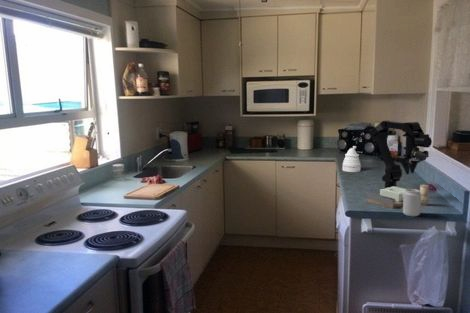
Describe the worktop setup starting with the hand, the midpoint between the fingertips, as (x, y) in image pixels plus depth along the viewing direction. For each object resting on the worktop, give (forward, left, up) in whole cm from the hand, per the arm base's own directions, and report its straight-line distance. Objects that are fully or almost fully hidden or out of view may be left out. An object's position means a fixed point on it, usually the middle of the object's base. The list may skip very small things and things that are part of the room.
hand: (409, 173), depth 205 cm
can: (+26, +19, -13) cm, 35 cm away
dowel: (+7, +13, -13) cm, 20 cm away
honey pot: (-31, -68, -13) cm, 76 cm away
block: (+11, 0, -11) cm, 16 cm away
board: (+15, 0, -13) cm, 20 cm away
